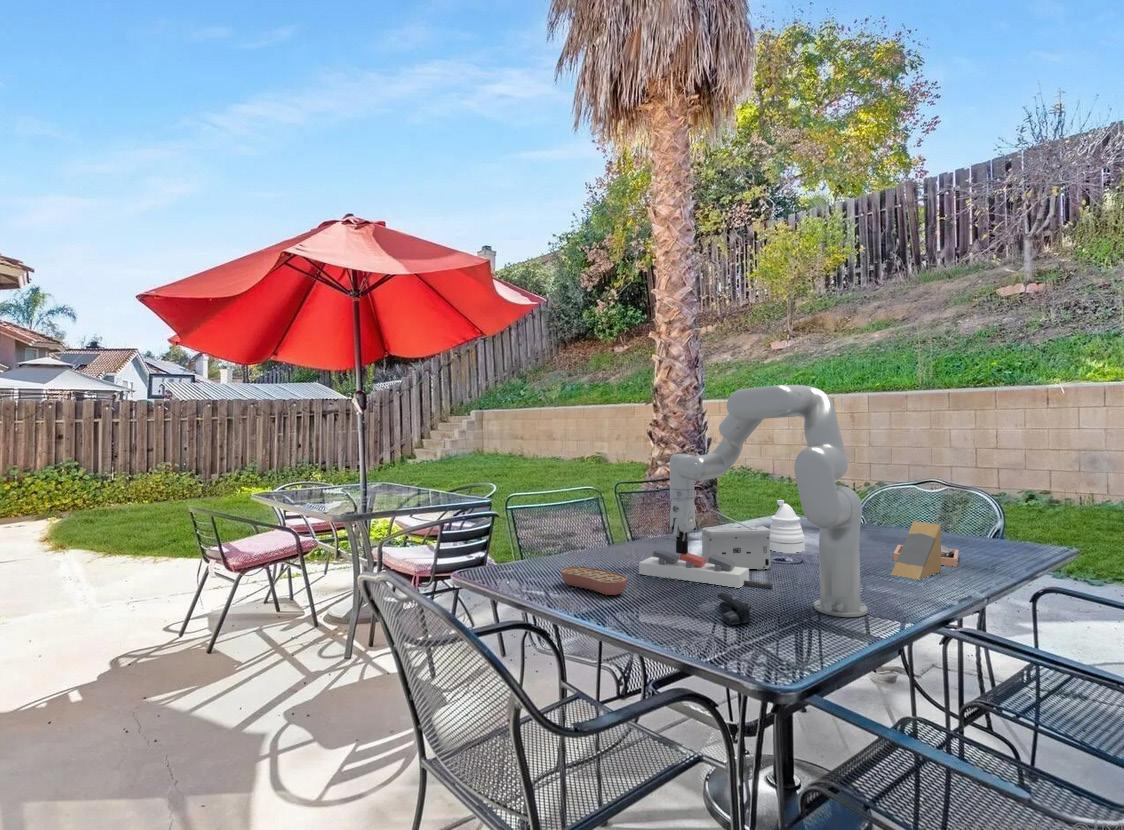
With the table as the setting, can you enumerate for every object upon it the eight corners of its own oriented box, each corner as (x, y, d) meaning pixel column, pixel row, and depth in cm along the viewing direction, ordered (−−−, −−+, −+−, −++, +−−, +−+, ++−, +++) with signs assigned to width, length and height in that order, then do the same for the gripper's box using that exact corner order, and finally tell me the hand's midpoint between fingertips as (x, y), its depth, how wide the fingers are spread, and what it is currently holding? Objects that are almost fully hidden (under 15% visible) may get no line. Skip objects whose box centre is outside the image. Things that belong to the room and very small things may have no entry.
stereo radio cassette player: (764, 564, 212) (763, 504, 212) (773, 570, 204) (772, 508, 204) (701, 566, 211) (700, 506, 211) (708, 572, 203) (706, 510, 203)
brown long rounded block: (554, 587, 192) (554, 570, 192) (578, 580, 199) (577, 564, 198) (612, 602, 175) (612, 584, 175) (635, 594, 182) (635, 576, 182)
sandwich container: (888, 575, 195) (887, 526, 195) (913, 567, 204) (912, 520, 204) (917, 581, 188) (917, 530, 188) (942, 572, 197) (941, 524, 197)
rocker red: (700, 568, 193) (701, 561, 193) (678, 560, 197) (680, 554, 197) (705, 565, 197) (706, 558, 197) (684, 557, 201) (685, 551, 200)
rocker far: (672, 565, 198) (673, 559, 198) (652, 556, 202) (653, 551, 201) (677, 562, 202) (679, 556, 201) (658, 554, 205) (659, 548, 205)
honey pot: (779, 554, 226) (778, 503, 225) (761, 547, 238) (760, 498, 238) (812, 552, 228) (811, 501, 228) (792, 544, 241) (791, 496, 241)
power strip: (767, 592, 180) (767, 572, 180) (639, 575, 202) (638, 557, 202) (776, 585, 188) (775, 565, 188) (651, 569, 209) (651, 551, 209)
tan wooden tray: (957, 567, 203) (957, 559, 203) (893, 560, 213) (893, 553, 213) (958, 557, 216) (958, 549, 216) (898, 551, 225) (898, 544, 225)
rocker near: (729, 572, 188) (731, 565, 188) (707, 563, 192) (708, 557, 192) (734, 568, 192) (735, 562, 192) (712, 560, 196) (713, 554, 195)
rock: (904, 559, 216) (903, 544, 216) (916, 554, 222) (915, 539, 222) (945, 565, 206) (945, 550, 206) (957, 560, 212) (956, 545, 212)
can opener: (757, 628, 153) (756, 604, 153) (728, 629, 152) (727, 605, 152) (734, 605, 170) (734, 584, 170) (708, 606, 170) (708, 585, 170)
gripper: (684, 498, 190) (684, 559, 190) (702, 491, 202) (702, 549, 203) (660, 496, 194) (660, 556, 194) (680, 490, 206) (679, 546, 207)
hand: (681, 552), depth 199 cm, fingers closed
